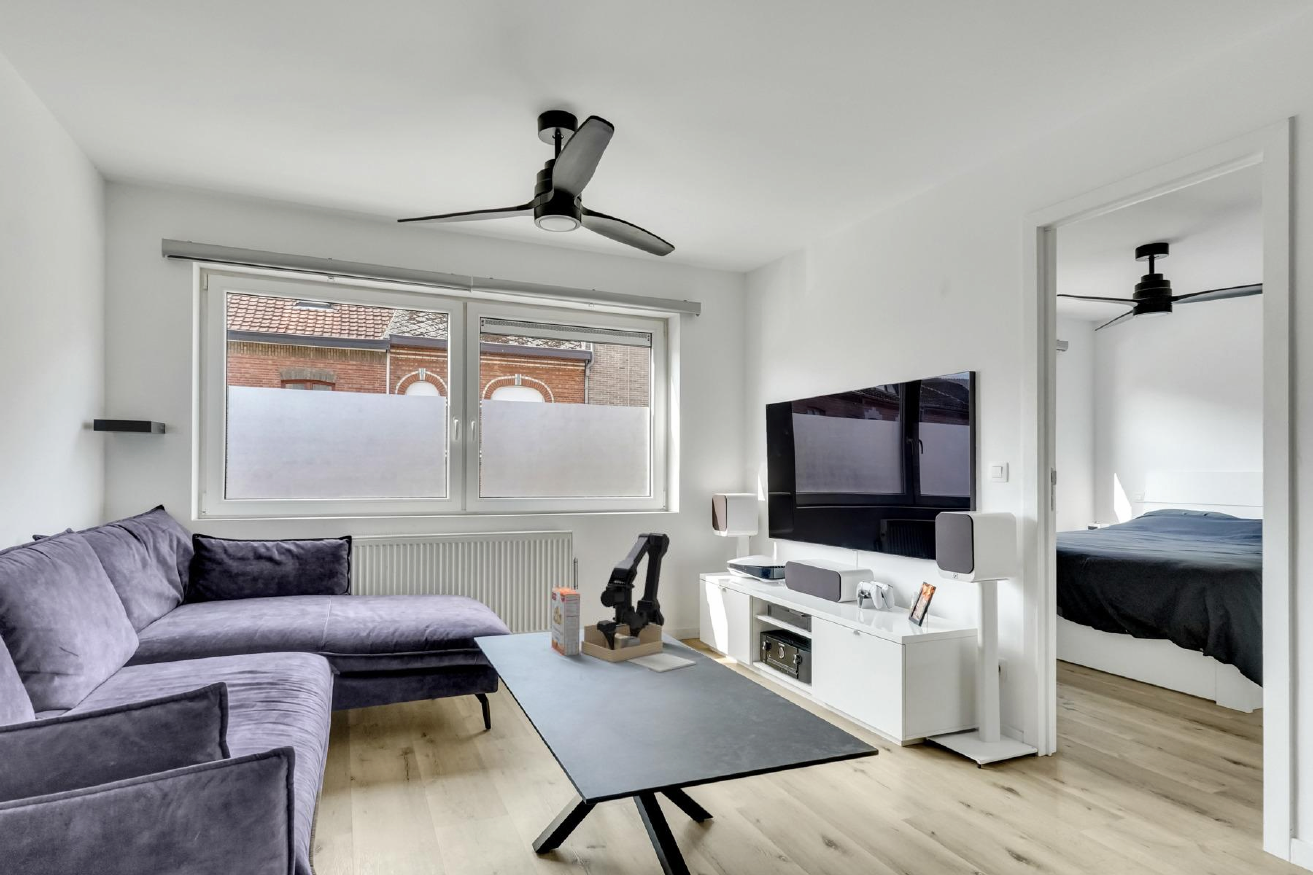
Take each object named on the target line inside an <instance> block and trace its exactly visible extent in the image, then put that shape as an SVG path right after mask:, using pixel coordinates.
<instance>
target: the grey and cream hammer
mask: <svg viewBox="0 0 1313 875" xmlns="http://www.w3.org/2000/svg"><path fill="white" fill-rule="evenodd" d="M638 645H640V638H637V637H633V636H631V637H628V636H624V635H621V634H617V633H616V635H615V643H614V650H617V649H623V648H628V647H633V646H638ZM606 649H609V650H611V649H610V646H609V644H608V642H607V640H606Z"/></svg>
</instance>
